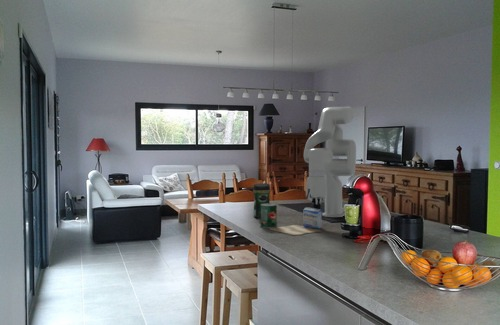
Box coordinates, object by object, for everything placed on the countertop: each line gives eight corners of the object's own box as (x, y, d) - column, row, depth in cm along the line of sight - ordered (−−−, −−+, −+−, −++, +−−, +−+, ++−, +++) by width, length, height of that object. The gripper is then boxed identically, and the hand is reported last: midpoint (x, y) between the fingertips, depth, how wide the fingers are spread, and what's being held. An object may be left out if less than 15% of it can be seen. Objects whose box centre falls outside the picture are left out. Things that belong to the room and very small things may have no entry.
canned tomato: (275, 228, 218) (275, 205, 218) (259, 227, 220) (259, 205, 219) (277, 225, 226) (277, 203, 226) (262, 224, 228) (262, 203, 227)
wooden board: (295, 225, 225) (295, 224, 225) (320, 231, 210) (320, 230, 210) (269, 229, 216) (269, 228, 216) (293, 235, 201) (293, 234, 201)
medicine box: (302, 226, 219) (302, 209, 217) (306, 223, 223) (306, 206, 221) (318, 229, 215) (318, 212, 213) (321, 225, 219) (321, 208, 217)
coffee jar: (269, 215, 256) (269, 182, 255) (271, 217, 248) (271, 183, 247) (252, 215, 255) (251, 182, 254) (254, 218, 247) (254, 184, 246)
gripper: (322, 173, 227) (322, 209, 228) (299, 174, 218) (300, 212, 219) (333, 174, 221) (333, 211, 222) (310, 175, 212) (310, 214, 213)
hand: (316, 212), depth 220 cm, fingers closed
